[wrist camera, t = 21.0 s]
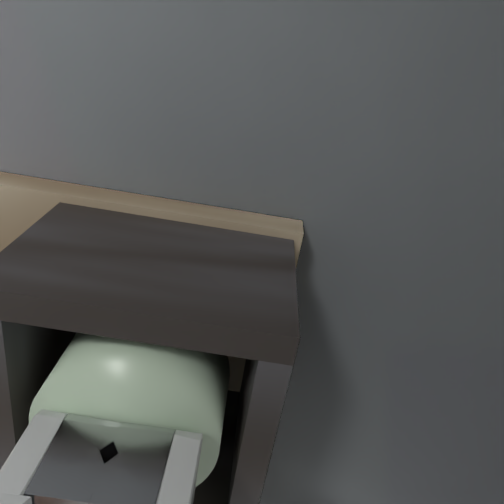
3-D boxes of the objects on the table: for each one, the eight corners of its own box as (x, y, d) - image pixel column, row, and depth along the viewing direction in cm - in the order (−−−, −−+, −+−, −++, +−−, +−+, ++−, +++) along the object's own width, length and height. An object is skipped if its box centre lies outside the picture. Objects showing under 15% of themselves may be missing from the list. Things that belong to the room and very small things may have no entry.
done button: (69, 288, 10) (21, 349, 8) (240, 315, 10) (231, 382, 8) (73, 412, 11) (34, 487, 9) (219, 435, 11) (208, 513, 10)
